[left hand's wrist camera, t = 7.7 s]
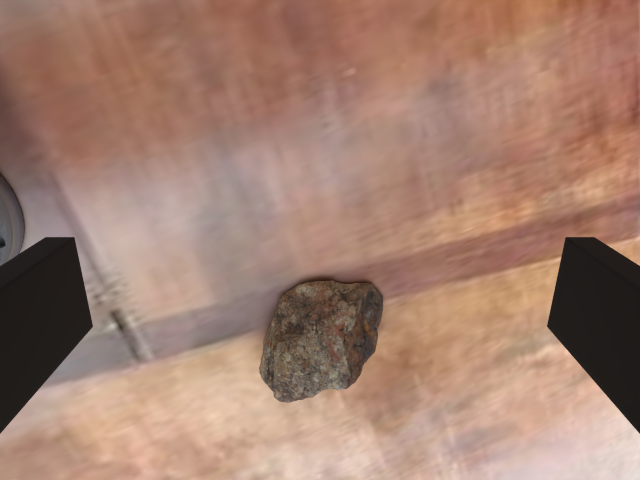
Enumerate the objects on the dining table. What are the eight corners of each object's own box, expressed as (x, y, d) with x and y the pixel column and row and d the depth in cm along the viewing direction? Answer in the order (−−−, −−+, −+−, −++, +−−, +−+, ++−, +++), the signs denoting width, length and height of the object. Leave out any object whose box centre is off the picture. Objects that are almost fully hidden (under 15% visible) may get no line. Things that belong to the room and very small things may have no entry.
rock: (384, 343, 54) (378, 267, 50) (402, 391, 46) (396, 305, 42) (262, 361, 53) (247, 286, 50) (259, 413, 45) (240, 328, 42)
